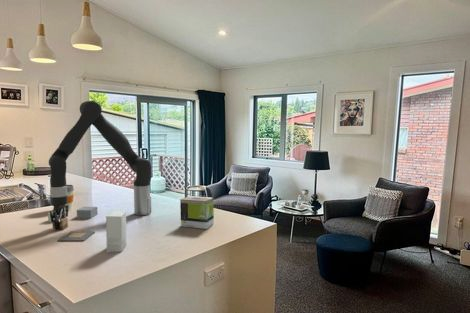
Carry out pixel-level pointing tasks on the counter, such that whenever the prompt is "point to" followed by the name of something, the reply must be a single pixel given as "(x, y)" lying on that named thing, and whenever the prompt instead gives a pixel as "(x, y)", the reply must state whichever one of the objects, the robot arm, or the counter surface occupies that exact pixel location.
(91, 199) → the counter surface
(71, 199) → the reusable coffee cup
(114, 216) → the skincare box
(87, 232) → the card
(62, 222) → the walnut block
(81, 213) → the slate block
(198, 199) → the tea box
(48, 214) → the sage green block
